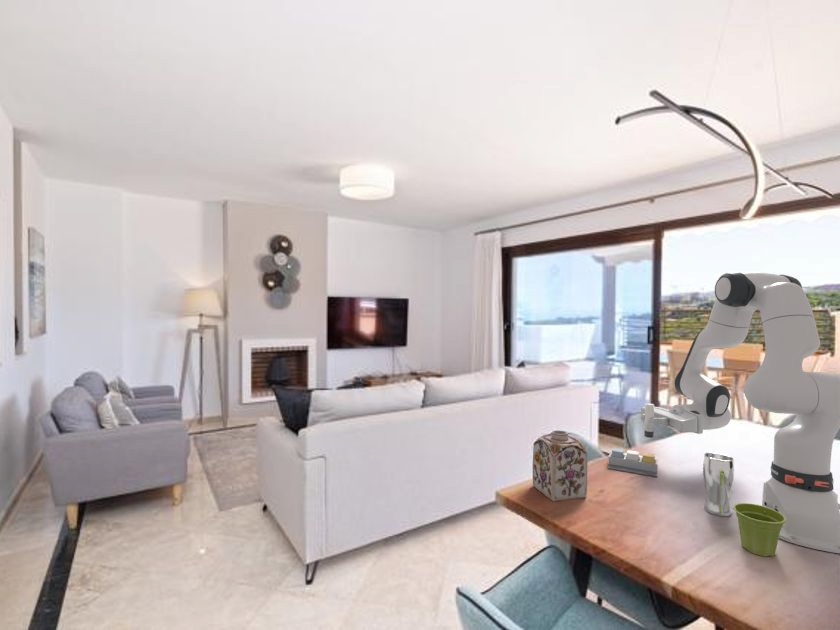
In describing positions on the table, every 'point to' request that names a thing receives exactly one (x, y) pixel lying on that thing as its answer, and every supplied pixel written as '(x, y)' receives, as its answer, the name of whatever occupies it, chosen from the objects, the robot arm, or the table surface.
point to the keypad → (633, 465)
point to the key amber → (648, 458)
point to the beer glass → (718, 483)
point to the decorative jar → (560, 466)
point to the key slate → (618, 453)
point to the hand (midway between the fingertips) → (647, 419)
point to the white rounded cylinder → (649, 426)
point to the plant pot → (759, 528)
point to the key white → (633, 455)
